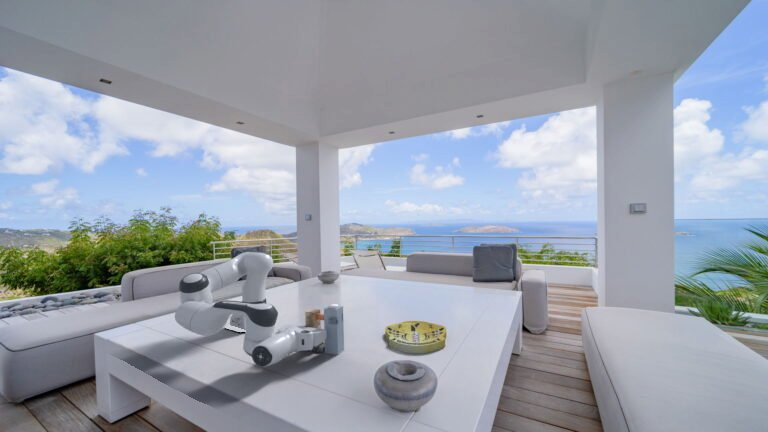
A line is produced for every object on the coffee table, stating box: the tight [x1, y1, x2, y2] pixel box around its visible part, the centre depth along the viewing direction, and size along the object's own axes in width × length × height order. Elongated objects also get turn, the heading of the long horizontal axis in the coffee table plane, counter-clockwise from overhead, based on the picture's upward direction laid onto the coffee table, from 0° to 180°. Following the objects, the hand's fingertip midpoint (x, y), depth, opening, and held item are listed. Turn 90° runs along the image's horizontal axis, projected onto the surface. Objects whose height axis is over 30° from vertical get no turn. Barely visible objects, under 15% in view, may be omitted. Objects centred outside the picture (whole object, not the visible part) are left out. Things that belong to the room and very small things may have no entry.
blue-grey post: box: [323, 303, 345, 356], centre depth 120 cm, size 6×5×19 cm
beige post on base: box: [304, 308, 325, 347], centre depth 124 cm, size 7×7×14 cm
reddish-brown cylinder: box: [316, 313, 324, 321], centre depth 122 cm, size 6×2×2 cm, turn 69°
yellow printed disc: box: [385, 320, 447, 354], centre depth 131 cm, size 28×3×30 cm
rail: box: [309, 341, 325, 354], centre depth 126 cm, size 24×5×4 cm, turn 69°
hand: (313, 327), depth 124 cm, fingers closed on beige post on base, 4 cm apart
